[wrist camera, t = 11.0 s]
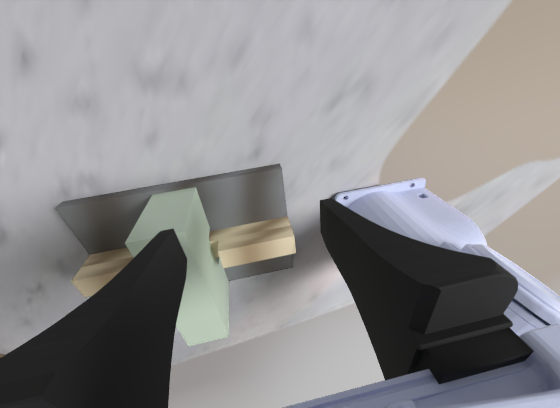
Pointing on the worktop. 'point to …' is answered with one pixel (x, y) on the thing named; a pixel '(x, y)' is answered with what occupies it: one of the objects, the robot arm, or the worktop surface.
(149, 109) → the worktop surface
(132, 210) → the joint board
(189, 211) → the pale green block
